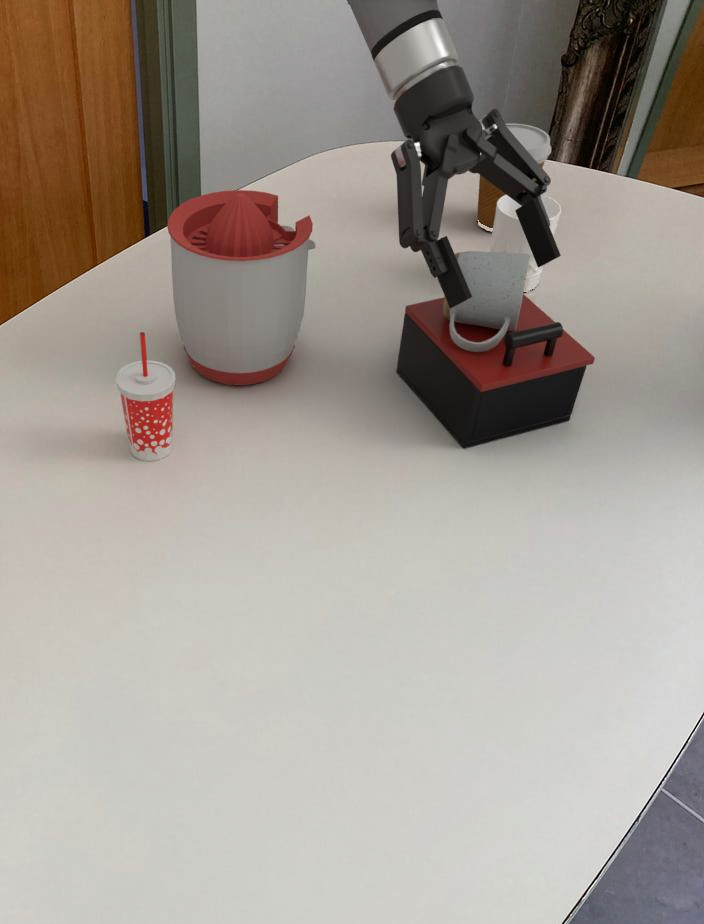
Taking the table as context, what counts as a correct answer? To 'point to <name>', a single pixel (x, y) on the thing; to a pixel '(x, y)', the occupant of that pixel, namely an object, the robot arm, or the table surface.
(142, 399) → the beverage cup
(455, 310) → the ceramic mug
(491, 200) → the disposable coffee cup
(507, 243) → the white cup
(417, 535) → the table surface
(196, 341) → the citrus juicer
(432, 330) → the box lid
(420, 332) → the black box
